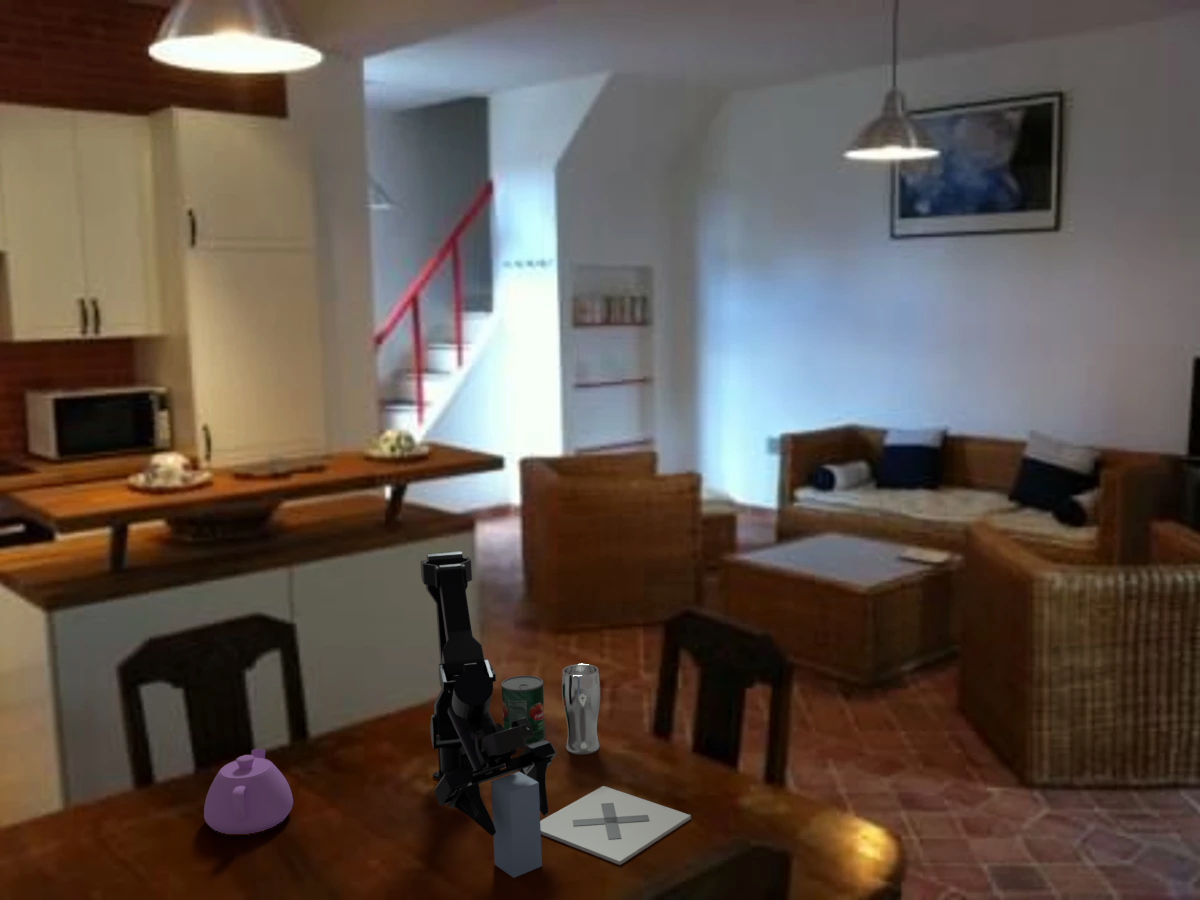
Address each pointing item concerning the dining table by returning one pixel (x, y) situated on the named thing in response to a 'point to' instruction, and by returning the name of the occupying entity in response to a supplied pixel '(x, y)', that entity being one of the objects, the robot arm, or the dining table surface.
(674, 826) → the pad
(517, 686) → the canned tomato
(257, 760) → the teapot
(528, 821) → the blue block
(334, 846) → the dining table surface
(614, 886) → the dining table surface
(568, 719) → the beer glass
